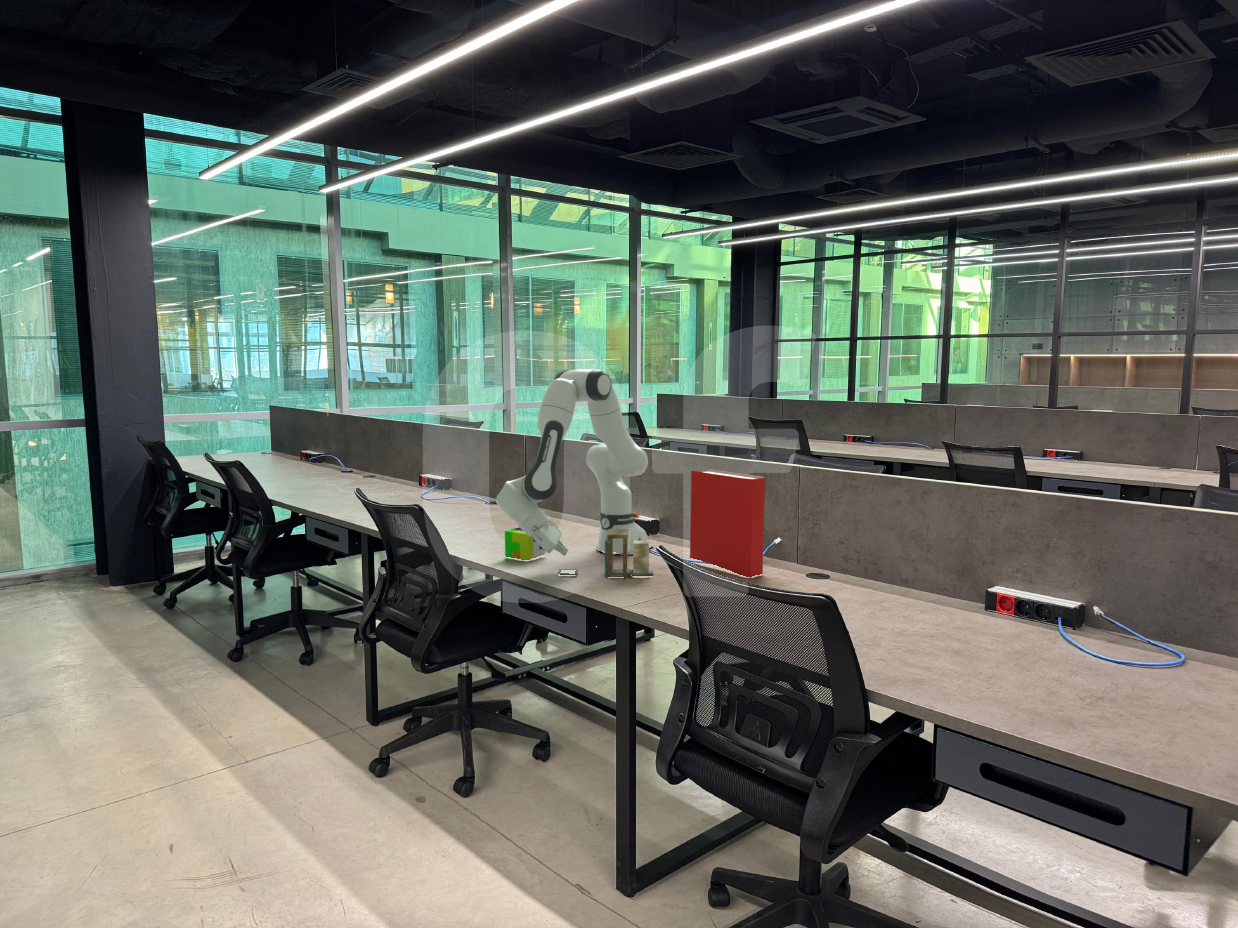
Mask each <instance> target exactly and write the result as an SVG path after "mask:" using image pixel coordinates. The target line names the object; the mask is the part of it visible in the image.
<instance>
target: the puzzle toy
mask: <svg viewBox="0 0 1238 928" xmlns="http://www.w3.org/2000/svg"><path fill="white" fill-rule="evenodd" d="M544 554H545V555H546V551H545V550H544V549H543V548H542V547H541V546H540V545H539V544H538V543H537V542H536V541H535V539H534V538H533V535H532V536H531V537H529V536H528V535H527V534H526V533H525V532H524V531H523V530H522V529H521V528H520V527H519V526H518V527H516V528H512V529H511V528H510V529H508V530H504V557H505V556H506V557H511V558H517V559H521V560H530V559H532V558H536V557H538V556H541V555H544Z"/></svg>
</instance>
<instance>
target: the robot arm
mask: <svg viewBox="0 0 1238 928" xmlns="http://www.w3.org/2000/svg"><path fill="white" fill-rule="evenodd" d="M577 402H578V403H579V402H586V403H587V407H588V408H587V409H588V414H589V416H590V421H591V425H592V428H593V429H592V430H593V433H594V434H595V436H596V437H597V438H598V439H599V440H601V441H602V442H603V443H602V444H601V443H600V444H594V445H593V446H591V447H590V448H589V449H588V450H587V453H586V456H585V457H586V459H585V461H586V465H587V467H588V469H590V470H591V472H592V473H593V474H594V476H595V478H596V481H597V483H598V486H599V490H600V507H601V508H600V510H601V512H599V523H600V525H599V530H598V531H599V533H598V539H597V540H598V541H597V543H596V550H597V549H598V550H599V551H604V552H605V538H606V537H607V533H608V529H628V538H627V553H633V540H636V541H648V535H647V532H646V530H645V529H644V528H642V527H641V526H640V525H639V524H637V522H635V521H636V520H635V518H636V519H639V518H640V516H641V515H640V514H639V512H635V511H634V512H632V507H633V506H632V501H633V500H632V491H631V490H630V487H628V486H627V485H626V483H625V481H623V477H636V476H640V475H642V474H644V473H645V472H646V470H647V468H648V465H649V459H648V455H647V452H646V451H645V450H644V449H642V448H641V447H640V446H639V445H638V444H637V443H636V442H635V441H634V440H633V438H632V436H631V435H630V433H629V432H628V430H627V427H626V425H625V421H624V418H623V414H622V410H621V405H620V403H619V398H618V395H617V393H616V390H615V388H614V386H613V384H612V379H611V377H610V376H609V374H608V373H607V372H606V371H604V370H602V369H598V368H594V369H593V368H592V369H591V368H577V369H571V370H570V369H565V370H562V371H559V372H558V373H556V374H555V376H554V377H553V380H552V381H550V383H549V384H548V387H547V389H546V391H545V393H544V395H543V398H542V401H541V405H540V408H539V411H538V412H539V413H538V419H537V428H538V431H539V432H540V444H539V448H538V451H537V456H536V459H535V463H534V465H533V467H532V468H531V469H530V470H529V471H528V473H527V474H526V475H524V476H521V477H519V478H516V479H512V480H506V481H505V482H503V484H502V486H501V487H500V489H499V490H498V491H497V492H496V494H495V502H496V504H497V506H498V507H499V508H500V509H501V510H502V512H503V513H505V515H506V516H507V517H508V518H509V519H511V520H512V521H514V522H515V523H516V524H517V526H518V528H519V527H520V528H521V529H522V530H523V531H524V532H525V533H526V534H527V535H528V536H529V537H531V536H532V535H533V538H534V539H535V541H536V542H537V543H538V544H539V545H540V546H541V547H542V548H543V549H544V550H545V553H546V554H550V553H552V551H554V550H555V551H556V552H558V553H560V555H561V556H563V557H565V556H566V555H567V554H568V552H569V549H568V548H567V547H566V546H565V545H564V543H563V542H562V541H561V540H560V539H561V537H562V535H563V532H562V531H561V529H560V528H559V527H558V526H557V525H556V524H555V522H553V520H551V519H550V515H549V514H548V513H547V512H546V511H543V510H542V508H540V507H539V506H538V504H539V502H542V501H544V500H547V499H550V497H552V496H553V495H554V493H555V492H556V490H557V482H558V481H557V476H556V465H557V459H558V457H559V453H560V449H561V444H562V442H563V439H565V436H566V435H567V433H568V431H569V429H570V426H571V423H572V420H573V417H574V415H575V408H576V403H577ZM622 476H623V477H622ZM597 546H598V547H597ZM613 552H616V553H623V539H613Z"/></svg>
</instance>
